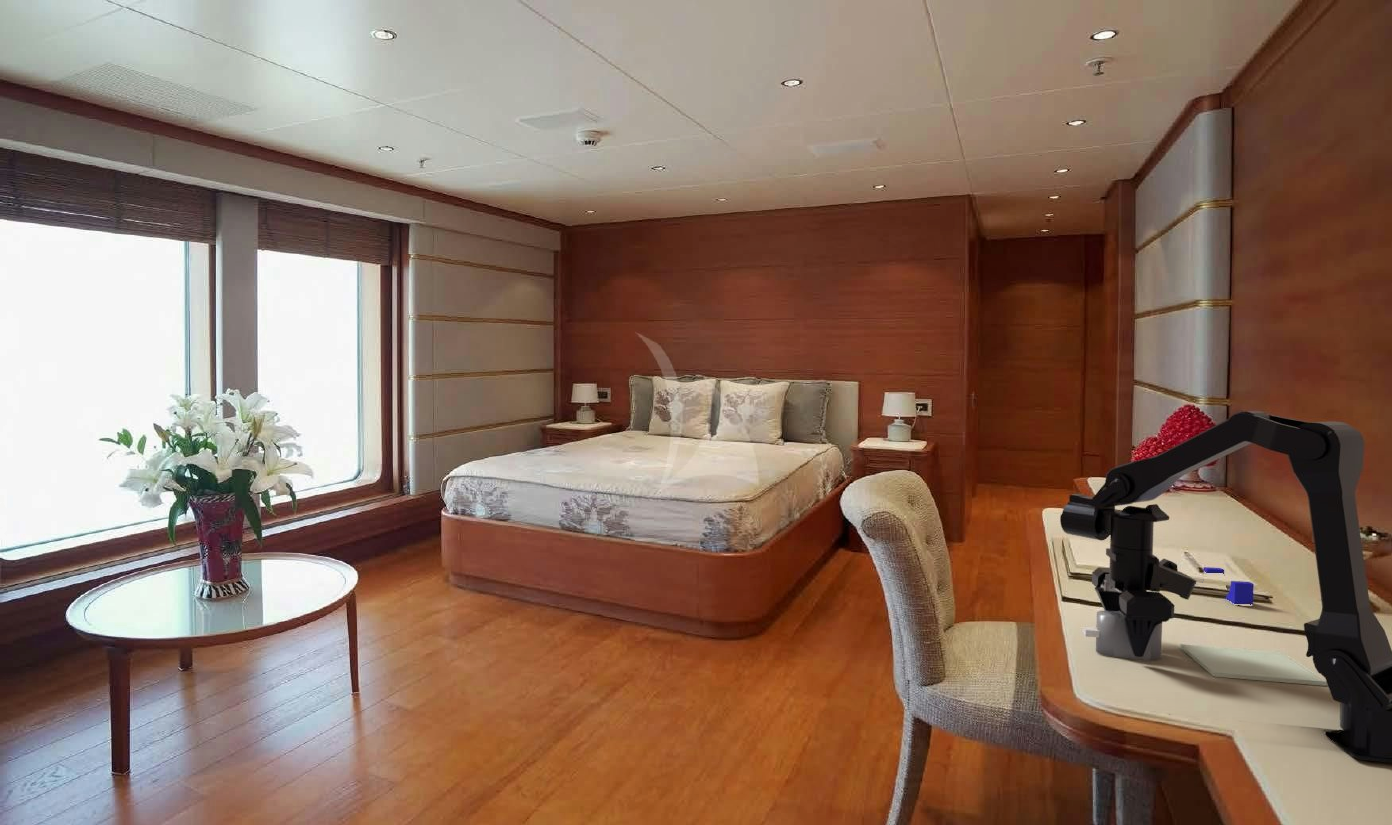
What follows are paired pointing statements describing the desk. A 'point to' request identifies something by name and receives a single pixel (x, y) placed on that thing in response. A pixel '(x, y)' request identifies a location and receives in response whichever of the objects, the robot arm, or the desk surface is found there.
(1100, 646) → the rounded connector
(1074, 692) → the desk surface
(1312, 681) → the sage pad
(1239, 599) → the blue blocks
